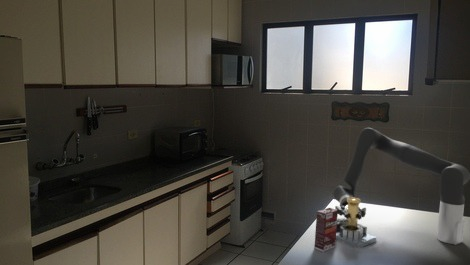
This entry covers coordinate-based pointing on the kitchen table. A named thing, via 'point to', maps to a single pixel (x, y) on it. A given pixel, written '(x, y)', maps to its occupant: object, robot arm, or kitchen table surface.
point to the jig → (353, 235)
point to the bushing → (352, 213)
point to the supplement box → (326, 229)
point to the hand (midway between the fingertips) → (353, 217)
